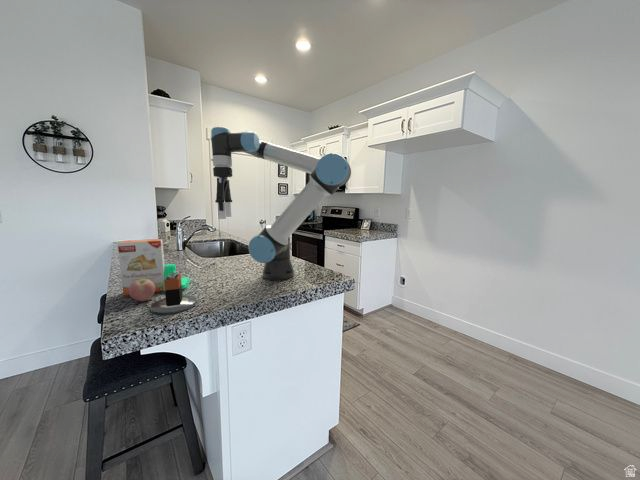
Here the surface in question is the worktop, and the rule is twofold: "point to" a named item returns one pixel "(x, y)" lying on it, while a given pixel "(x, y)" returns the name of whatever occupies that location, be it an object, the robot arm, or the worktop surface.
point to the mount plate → (161, 307)
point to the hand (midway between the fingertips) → (225, 217)
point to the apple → (142, 289)
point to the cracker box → (141, 262)
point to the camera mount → (172, 269)
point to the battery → (173, 289)
